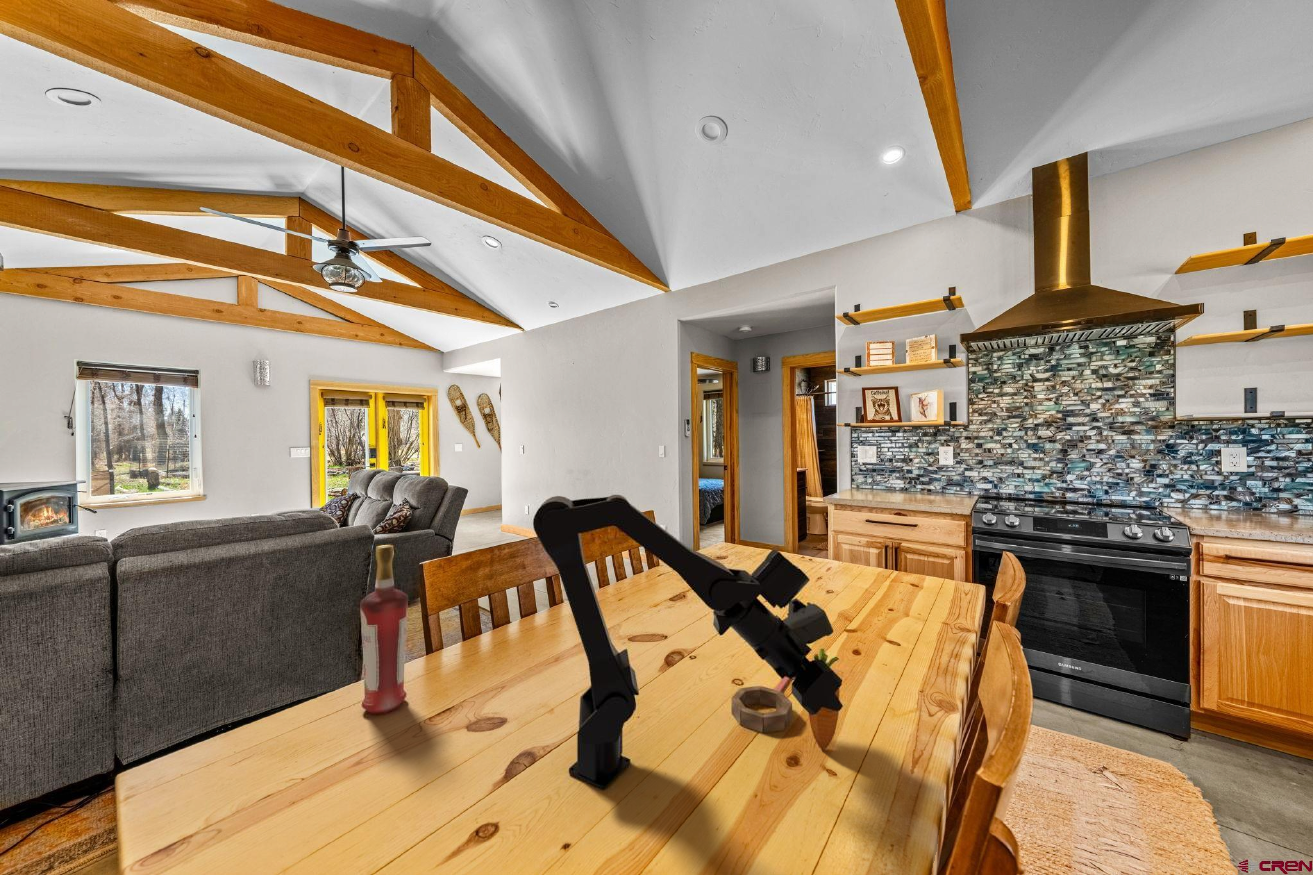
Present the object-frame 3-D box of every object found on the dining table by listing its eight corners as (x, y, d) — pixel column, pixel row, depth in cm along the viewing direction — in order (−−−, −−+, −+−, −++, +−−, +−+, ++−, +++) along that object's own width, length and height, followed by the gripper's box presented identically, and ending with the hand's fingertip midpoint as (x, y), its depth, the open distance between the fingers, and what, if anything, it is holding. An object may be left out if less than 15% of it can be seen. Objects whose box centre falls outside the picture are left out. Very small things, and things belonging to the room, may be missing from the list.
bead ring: (780, 738, 77) (780, 722, 77) (724, 720, 81) (724, 705, 81) (796, 710, 85) (796, 695, 85) (745, 695, 89) (745, 681, 89)
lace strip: (772, 703, 87) (772, 701, 87) (754, 698, 88) (754, 695, 88) (798, 667, 100) (798, 664, 100) (781, 663, 102) (781, 660, 102)
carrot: (813, 735, 77) (813, 640, 77) (845, 748, 74) (845, 649, 74) (800, 751, 74) (800, 651, 74) (833, 765, 70) (833, 661, 70)
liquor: (356, 705, 86) (356, 545, 86) (402, 691, 91) (402, 540, 91) (364, 724, 80) (364, 553, 80) (412, 708, 85) (413, 547, 85)
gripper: (827, 611, 64) (905, 690, 66) (775, 572, 83) (836, 634, 84) (770, 675, 63) (850, 754, 65) (729, 621, 82) (792, 683, 83)
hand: (831, 698), depth 74 cm, fingers closed on carrot, 5 cm apart
